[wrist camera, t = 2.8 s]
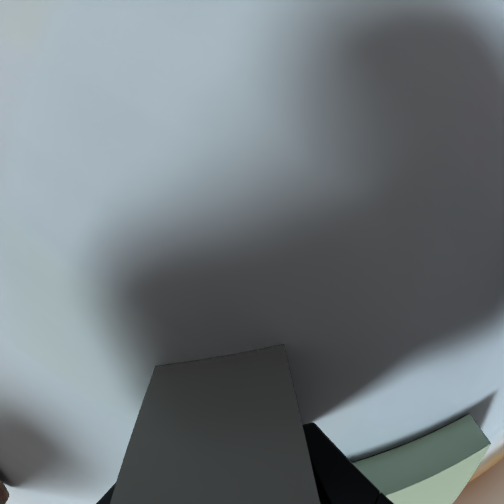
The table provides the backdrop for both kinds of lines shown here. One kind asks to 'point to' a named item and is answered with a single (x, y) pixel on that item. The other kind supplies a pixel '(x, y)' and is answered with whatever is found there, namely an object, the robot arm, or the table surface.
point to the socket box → (429, 465)
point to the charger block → (219, 435)
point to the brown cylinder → (3, 493)
